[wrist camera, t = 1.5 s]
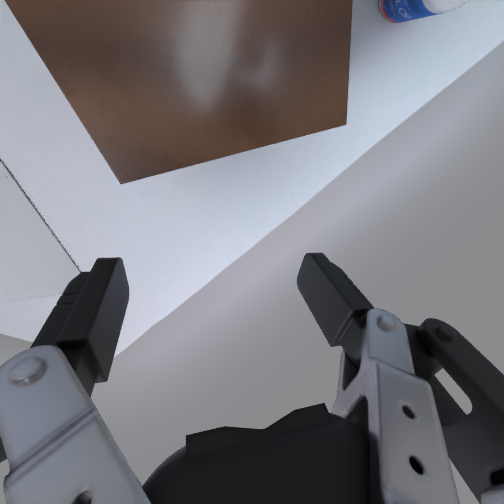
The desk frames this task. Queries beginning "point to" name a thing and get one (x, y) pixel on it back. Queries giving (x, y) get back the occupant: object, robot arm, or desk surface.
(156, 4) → the walnut stand
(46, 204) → the desk surface
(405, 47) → the desk surface
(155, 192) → the desk surface
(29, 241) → the grey clipboard
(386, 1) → the pill bottle
